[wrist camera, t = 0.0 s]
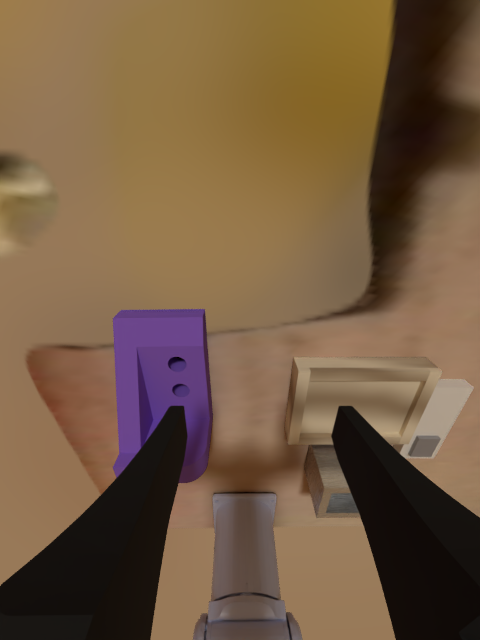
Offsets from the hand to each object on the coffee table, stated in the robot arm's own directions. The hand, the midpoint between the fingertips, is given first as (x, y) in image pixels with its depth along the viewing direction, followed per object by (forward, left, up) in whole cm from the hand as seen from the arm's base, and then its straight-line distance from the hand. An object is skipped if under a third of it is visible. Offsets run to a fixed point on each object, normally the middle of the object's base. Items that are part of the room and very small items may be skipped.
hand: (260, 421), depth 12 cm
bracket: (-5, +7, -11) cm, 14 cm away
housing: (-17, -11, -10) cm, 23 cm away
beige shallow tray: (-8, -10, -10) cm, 16 cm away
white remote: (-11, -18, -11) cm, 24 cm away
